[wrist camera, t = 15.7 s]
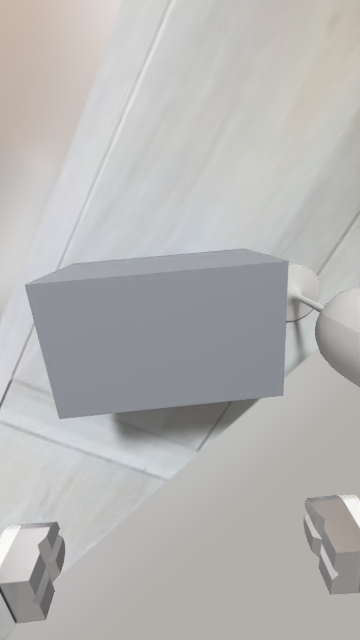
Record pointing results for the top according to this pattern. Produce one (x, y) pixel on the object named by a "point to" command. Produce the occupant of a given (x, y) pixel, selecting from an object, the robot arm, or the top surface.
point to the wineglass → (328, 320)
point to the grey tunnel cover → (162, 331)
